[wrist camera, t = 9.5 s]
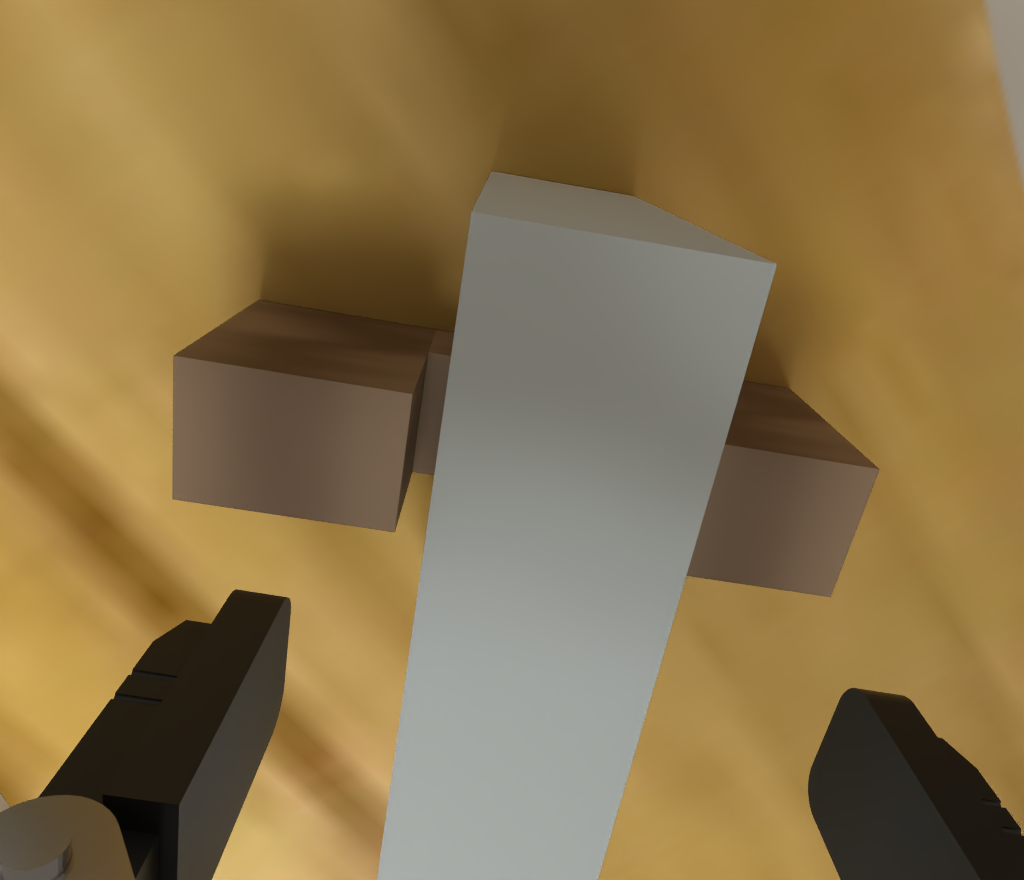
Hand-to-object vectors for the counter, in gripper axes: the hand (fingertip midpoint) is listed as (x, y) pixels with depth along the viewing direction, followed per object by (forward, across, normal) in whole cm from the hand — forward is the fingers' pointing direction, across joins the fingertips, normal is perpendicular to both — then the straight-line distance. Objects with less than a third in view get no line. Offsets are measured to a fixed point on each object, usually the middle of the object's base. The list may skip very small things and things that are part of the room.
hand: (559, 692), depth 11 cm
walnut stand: (+13, 0, 0) cm, 13 cm away
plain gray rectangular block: (+13, 0, 0) cm, 13 cm away
